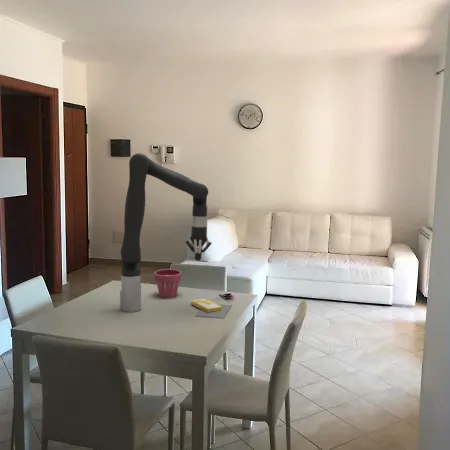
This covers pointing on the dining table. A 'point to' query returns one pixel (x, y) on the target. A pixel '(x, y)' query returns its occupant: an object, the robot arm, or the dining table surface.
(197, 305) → the candy box
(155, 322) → the dining table surface
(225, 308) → the mat
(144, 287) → the dining table surface
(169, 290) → the plant pot
